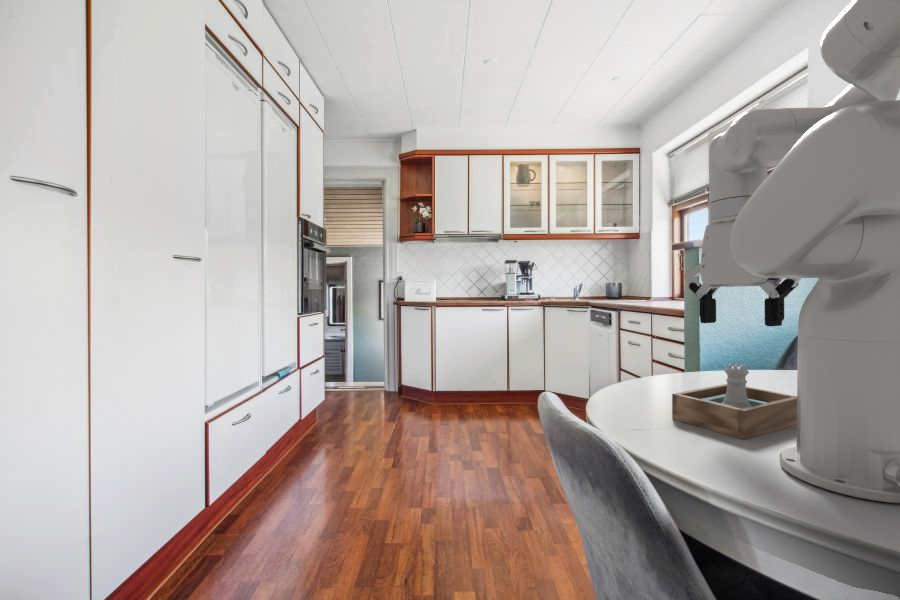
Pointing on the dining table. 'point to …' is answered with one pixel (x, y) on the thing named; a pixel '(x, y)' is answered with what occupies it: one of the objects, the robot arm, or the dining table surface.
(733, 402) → the rook chess piece
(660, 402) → the dining table surface
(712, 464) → the dining table surface
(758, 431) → the walled box
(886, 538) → the dining table surface
